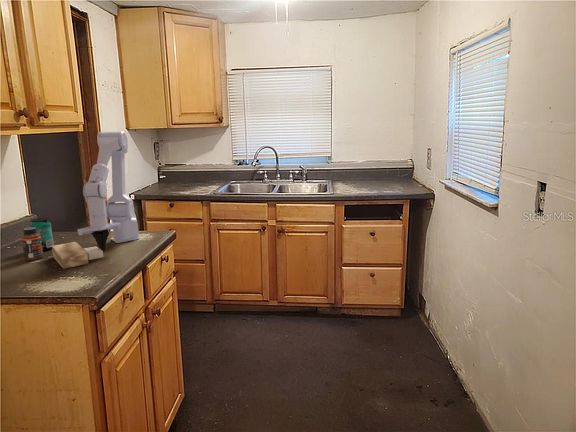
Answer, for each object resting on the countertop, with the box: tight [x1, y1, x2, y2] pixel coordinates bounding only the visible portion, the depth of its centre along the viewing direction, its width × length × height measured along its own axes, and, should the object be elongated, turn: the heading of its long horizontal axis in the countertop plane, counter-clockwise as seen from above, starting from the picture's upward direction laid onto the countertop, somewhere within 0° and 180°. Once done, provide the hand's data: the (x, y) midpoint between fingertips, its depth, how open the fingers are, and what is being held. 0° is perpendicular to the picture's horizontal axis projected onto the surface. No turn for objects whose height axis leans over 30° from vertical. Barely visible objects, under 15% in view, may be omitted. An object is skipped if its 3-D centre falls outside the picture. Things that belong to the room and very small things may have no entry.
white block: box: [82, 245, 104, 261], centre depth 160 cm, size 6×8×2 cm
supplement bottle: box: [21, 226, 44, 261], centre depth 158 cm, size 6×6×11 cm
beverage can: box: [29, 217, 55, 252], centre depth 168 cm, size 7×7×12 cm
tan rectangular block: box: [51, 241, 89, 270], centre depth 155 cm, size 8×16×4 cm, turn 39°
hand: (102, 250), depth 162 cm, fingers closed
